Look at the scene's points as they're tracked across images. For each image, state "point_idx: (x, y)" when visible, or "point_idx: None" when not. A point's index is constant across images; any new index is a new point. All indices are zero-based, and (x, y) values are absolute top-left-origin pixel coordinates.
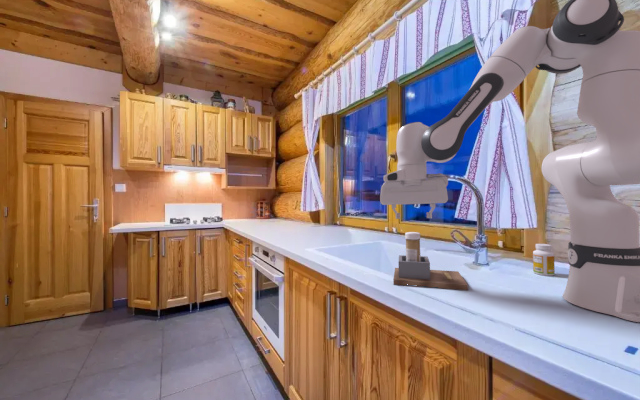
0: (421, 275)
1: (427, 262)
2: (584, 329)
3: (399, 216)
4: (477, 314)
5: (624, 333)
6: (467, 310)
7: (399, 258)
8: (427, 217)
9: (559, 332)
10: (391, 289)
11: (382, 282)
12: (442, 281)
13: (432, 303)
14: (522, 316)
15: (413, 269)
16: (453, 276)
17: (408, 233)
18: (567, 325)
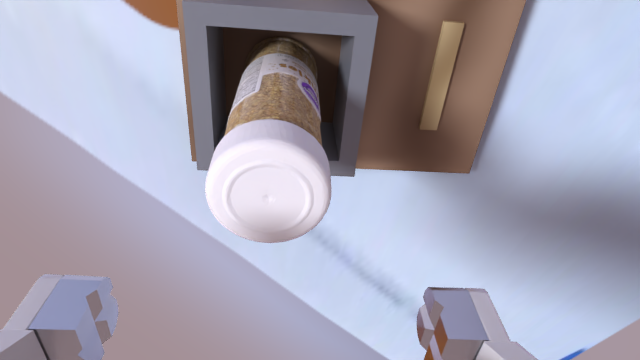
0: None
1: (344, 168)
2: (569, 320)
3: (100, 339)
4: (404, 304)
5: (623, 320)
6: (391, 291)
7: (195, 102)
8: (421, 331)
9: (513, 335)
10: (195, 199)
11: (146, 131)
12: (389, 150)
13: (317, 272)
14: (497, 296)
15: None
16: (465, 71)
17: (233, 231)
18: (553, 312)
